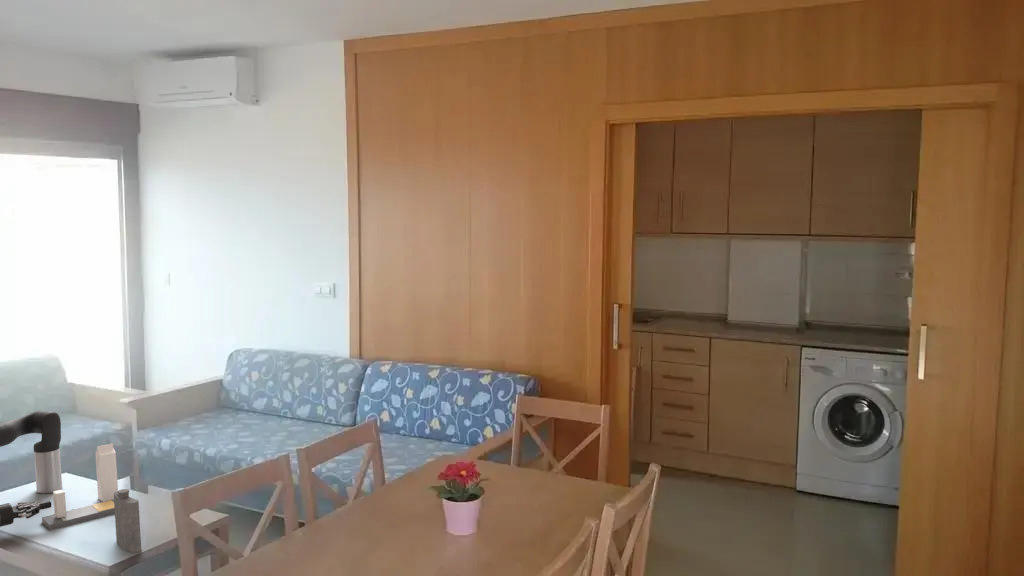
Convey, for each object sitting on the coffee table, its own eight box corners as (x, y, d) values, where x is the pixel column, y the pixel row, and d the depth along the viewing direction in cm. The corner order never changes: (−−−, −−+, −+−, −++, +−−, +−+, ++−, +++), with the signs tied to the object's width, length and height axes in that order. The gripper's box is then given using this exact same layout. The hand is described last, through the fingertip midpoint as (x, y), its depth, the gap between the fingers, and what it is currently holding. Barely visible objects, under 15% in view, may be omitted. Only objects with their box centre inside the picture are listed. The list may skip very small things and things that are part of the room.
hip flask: (143, 551, 274) (139, 494, 271) (130, 554, 271) (127, 497, 269) (124, 538, 284) (121, 483, 282) (112, 541, 281) (108, 486, 279)
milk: (118, 498, 324) (115, 445, 321) (102, 502, 319) (99, 448, 317) (113, 494, 328) (110, 441, 326) (97, 498, 324) (94, 444, 322)
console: (42, 522, 299) (41, 516, 299) (116, 504, 317) (115, 498, 317) (49, 530, 292) (49, 524, 292) (125, 510, 310) (124, 505, 310)
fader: (54, 515, 299) (52, 491, 298) (63, 513, 301) (61, 489, 300) (57, 518, 297) (55, 493, 296) (66, 515, 299) (64, 491, 298)
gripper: (-1, 511, 279) (55, 498, 291) (-10, 501, 289) (44, 489, 301) (1, 532, 280) (56, 518, 292) (-8, 522, 289) (46, 508, 301)
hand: (50, 503), depth 296 cm, fingers closed
